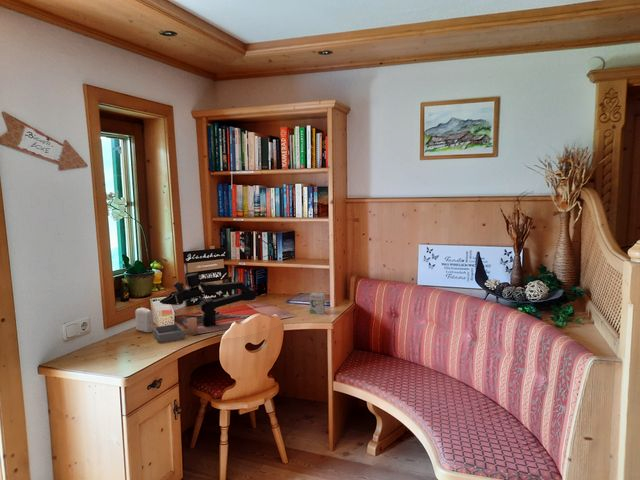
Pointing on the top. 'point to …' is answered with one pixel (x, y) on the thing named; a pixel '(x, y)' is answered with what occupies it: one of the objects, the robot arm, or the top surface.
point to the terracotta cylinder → (192, 325)
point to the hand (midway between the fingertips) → (160, 302)
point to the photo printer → (144, 320)
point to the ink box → (317, 303)
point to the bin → (168, 333)
